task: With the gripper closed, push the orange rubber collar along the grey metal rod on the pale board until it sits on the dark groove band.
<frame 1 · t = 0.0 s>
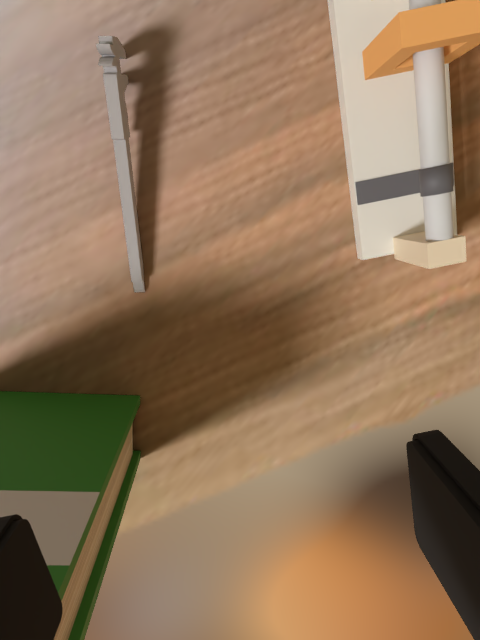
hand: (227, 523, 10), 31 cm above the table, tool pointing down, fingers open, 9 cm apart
hardback book: (55, 424, 43), on the table
rod stand: (392, 127, 37), on the table
caliper: (131, 181, 38), on the table
collar: (427, 40, 29), point 7 cm above the table, slide at 0.0 cm
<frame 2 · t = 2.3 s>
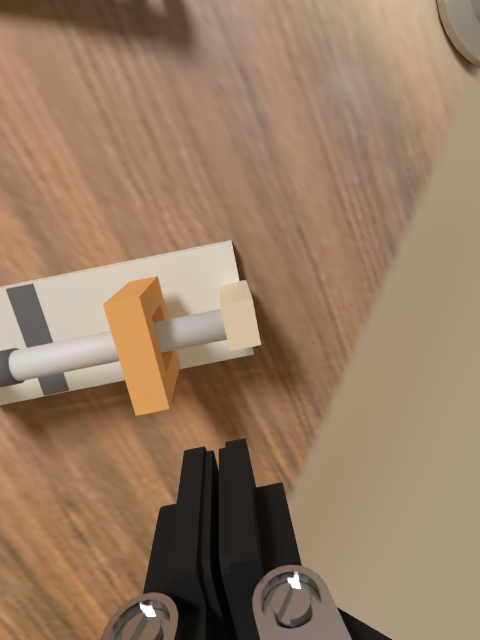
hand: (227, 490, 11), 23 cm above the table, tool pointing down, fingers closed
rod stand: (107, 323, 33), on the table
collar: (147, 339, 26), point 7 cm above the table, slide at 0.0 cm
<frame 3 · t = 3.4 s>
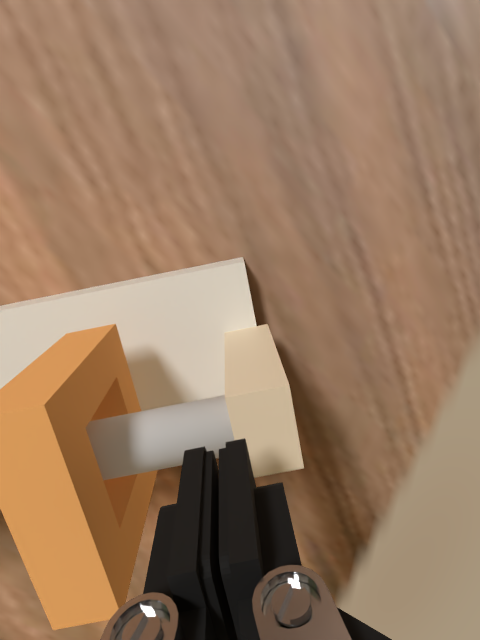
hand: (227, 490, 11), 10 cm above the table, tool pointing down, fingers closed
rod stand: (45, 387, 21), on the table
collar: (89, 451, 14), point 7 cm above the table, slide at 0.0 cm
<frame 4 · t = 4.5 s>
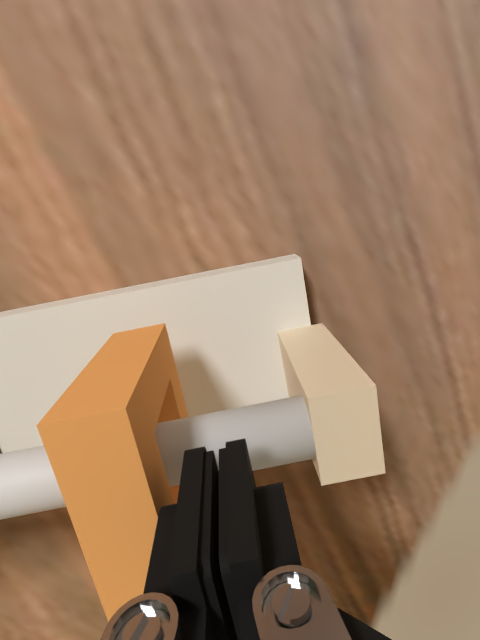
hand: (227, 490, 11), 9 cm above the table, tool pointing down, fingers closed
rod stand: (86, 389, 20), on the table
collar: (146, 457, 13), point 7 cm above the table, slide at 0.3 cm, touching gripper
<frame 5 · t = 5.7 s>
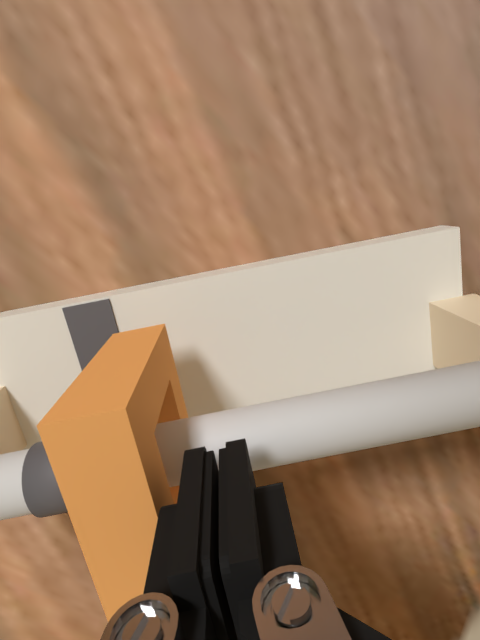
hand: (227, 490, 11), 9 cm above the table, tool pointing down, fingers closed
rod stand: (222, 362, 20), on the table
collar: (145, 458, 13), point 7 cm above the table, slide at 7.1 cm, touching gripper
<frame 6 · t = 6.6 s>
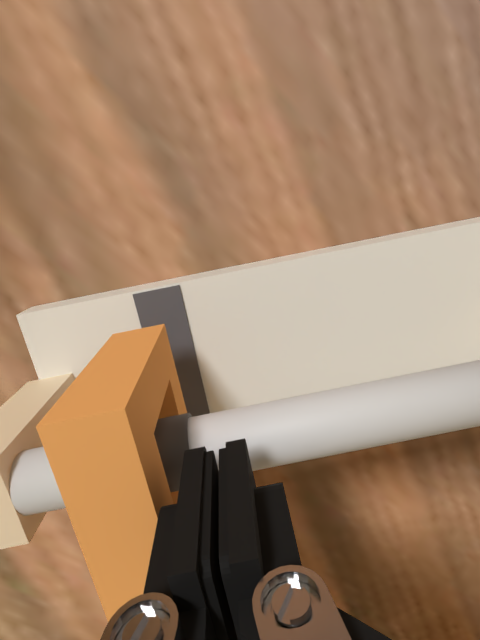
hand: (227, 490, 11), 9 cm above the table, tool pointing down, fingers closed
rod stand: (284, 350, 20), on the table
collar: (145, 458, 13), point 7 cm above the table, slide at 10.1 cm, touching gripper
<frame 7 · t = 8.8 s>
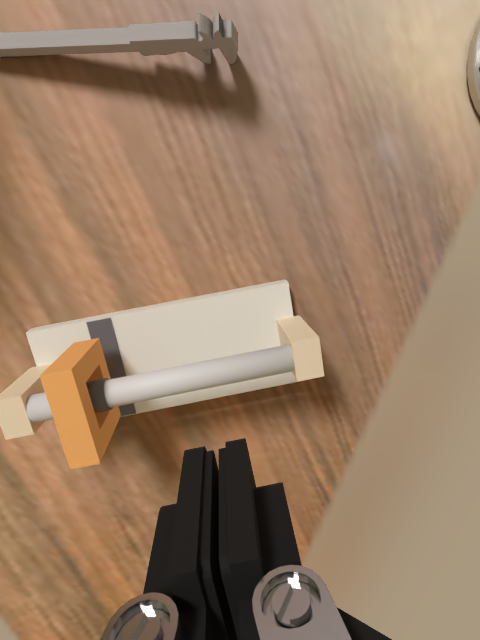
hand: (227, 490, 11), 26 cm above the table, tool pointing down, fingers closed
rod stand: (171, 352, 37), on the table
caliper: (99, 55, 31), on the table
collar: (85, 398, 30), point 7 cm above the table, slide at 10.2 cm
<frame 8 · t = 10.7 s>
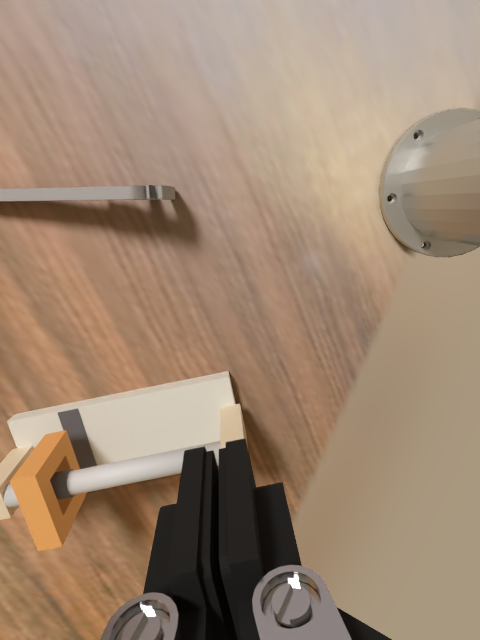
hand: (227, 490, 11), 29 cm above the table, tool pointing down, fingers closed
rod stand: (133, 431, 43), on the table
caliper: (61, 195, 37), on the table
collar: (53, 486, 36), point 7 cm above the table, slide at 10.2 cm
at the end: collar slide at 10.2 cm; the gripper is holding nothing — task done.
